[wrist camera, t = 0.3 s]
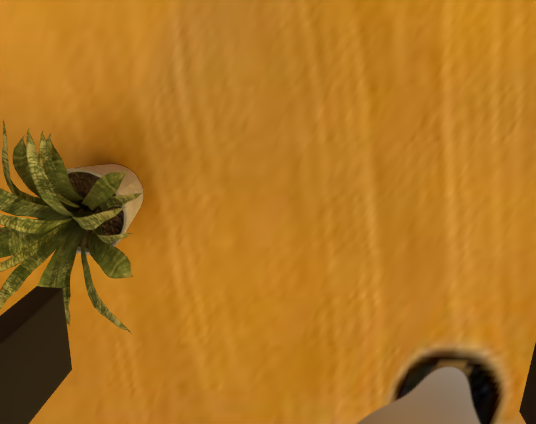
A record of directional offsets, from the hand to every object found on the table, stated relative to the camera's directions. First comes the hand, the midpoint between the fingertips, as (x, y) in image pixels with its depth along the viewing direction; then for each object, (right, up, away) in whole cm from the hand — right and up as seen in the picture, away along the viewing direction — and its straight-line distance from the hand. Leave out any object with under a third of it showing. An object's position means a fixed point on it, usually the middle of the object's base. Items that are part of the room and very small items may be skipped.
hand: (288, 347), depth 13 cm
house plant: (-13, +5, +29) cm, 32 cm away
